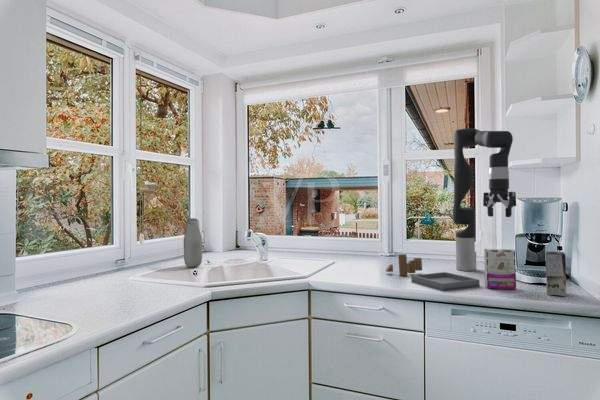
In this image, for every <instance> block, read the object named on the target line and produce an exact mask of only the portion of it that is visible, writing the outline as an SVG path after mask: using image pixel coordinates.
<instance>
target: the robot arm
mask: <svg viewBox="0 0 600 400" xmlns="http://www.w3.org/2000/svg"><path fill="white" fill-rule="evenodd" d="M513 141H514V139H513V135H512V133H511V132H510V130H509V131H508V130H480V129H477V128H473V127H469V128H461V129H459V128H458V129H456V130H455V131H454V134H453V154H454V171H453V172H454V173H453V188H454V189H453V190H454V191H453V193H454V194H453V206H452V207H453V208H452V221H453V223H454V225H457V226H458V225H460V226H461V225H462V226H463V225H467V227H466V228H464V229H462V230H458V231H456V233H455V251H456V252H455V257H456V258H455V268H456V270H458V271H463V272H465V271H467V272H471V271H476V270H477V251H476V249H475V248H476V245H475V241H476V240H475V238H476V237H475V236H476V235H475V230H476V229H475V223H476V222H475V221H476V211H475V209H474V207H470V206H469V207H464V206H463V207H461V205H462V202H463V200H464V198H465V197H466V195H468V193H469V192H470V190H471V189H472V187H473V186H474V170H473V169H472V167H471V165H470V164H469V162H468V161H467V160H466V158H465V156H464V148H470V147H473V146H475V147H476V146H480V147H484V148H485V147H486V148H491V149H499V148H500V149H499V151H498V152H495V153H492V154H490V156H489V158H488V160H489V171H488V189H489V192H483V200H482V201H483V202H482V205H483V207H486V209H487V216H488V217H491V218H492V217H494V206H495V204H497V203H502V204H503V206H504V207H505V218H510V217H512V211H513V210H512V208H514V207H516V206H517V197H516V195H517V194H516V192H515V191H509V189H510V172H509V171H510V170H509V155H510V150H511V149H512V144H513Z"/></svg>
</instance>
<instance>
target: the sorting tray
mask: <svg viewBox="0 0 600 400" xmlns="http://www.w3.org/2000/svg"><path fill="white" fill-rule="evenodd" d="M410 277H411V283H414V284H417V285H421V286H424V287H429V288H432V289H435V290H438V291H441V292H446V291H454V290H455V291H456V290H464V289H470V288H471V289H472V288H479V287H480V279H478V278H474V277H469V276H464V275H460V274H456V273H452V272H446V271H443V272H440V271H439V272H432V273H421V274H412V275H411V276H410Z"/></svg>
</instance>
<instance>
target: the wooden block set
mask: <svg viewBox="0 0 600 400" xmlns="http://www.w3.org/2000/svg"><path fill="white" fill-rule="evenodd" d="M407 258H408V257H407V254H406V253H399V254H398V258H397V259H398V272H399V276H403V277H406V276H408V274H416V271H417V272H421V271H423V261H422V258H421V257H414V258H413V260H407ZM385 272H387V273H389V272H390V273H391V272H394V265H393V264H392V263H391V264H389V265H388V267H387V268H386V269H385Z"/></svg>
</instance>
